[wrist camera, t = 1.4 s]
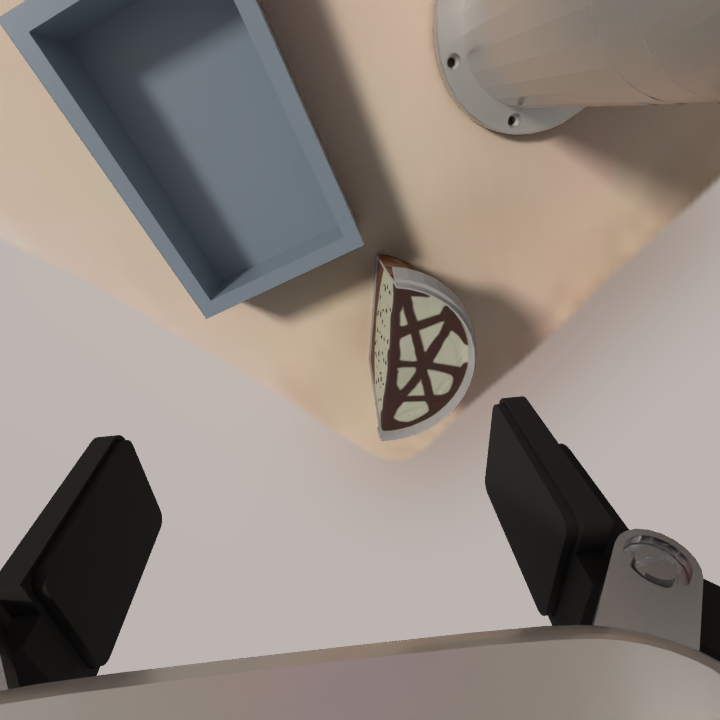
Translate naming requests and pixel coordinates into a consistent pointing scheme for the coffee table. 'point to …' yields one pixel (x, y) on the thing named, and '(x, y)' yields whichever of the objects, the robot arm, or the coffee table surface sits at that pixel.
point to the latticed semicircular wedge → (416, 349)
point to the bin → (195, 135)
